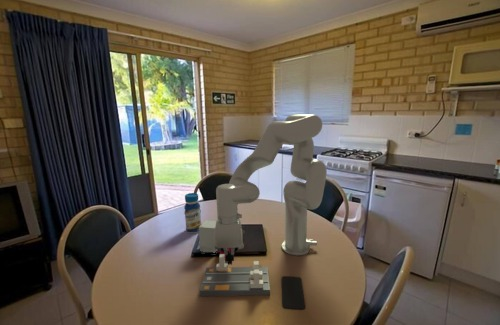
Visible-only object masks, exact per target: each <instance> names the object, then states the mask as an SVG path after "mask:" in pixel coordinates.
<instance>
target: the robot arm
mask: <svg viewBox="0 0 500 325" xmlns="http://www.w3.org/2000/svg"><path fill="white" fill-rule="evenodd" d="M322 129H323V121H322V119H321V117H320V116H318V115H316V114H308V113H307V114H291V115H288V116H287V117H286V118H285V119H284V120H275V121H272V122H270V123H269V124H268V125H267V127H266V128H265V130H264V132H263V134H262V136H261V137H260V140H259V141H258V143H257V144H256V146H255V149H254V150H253V152H252V153H251V154H249V156H247V157H246V158H245V159H244V160H243V161H242V162H241V163H240V164H239V165H237V167H236V169H234V170H235V171H234V172H233V174H232V176H231V177H230V180H229V181H228V183H223V184H219V185H218V186H217V187H216V189H215V194H216V195H215V196H216V214H217V219H216V220H215V221H216V226H215V245H216V246H215V249H216V250H217V251H220V250H221V251H222V252H223V253H224V254H225V255H226V258H225V262H227V263H228V266H229V265H231V266H232V265H233V262H234V261H235V258H234V257H235V253H236V252H237V251H238V250H242V249H244V243H243V241H244V240H243V239H244V237H243V226H242V221H241V219H242V218H243V214H240V213H239V208H238V207H239V206H238V205H241V204H243V205H244V204H251V203H254V202H256V201H257V200H258V198H259V197H260V189H259V187H258V186H257V185H256V184H255V183H253V182H251V181H249V180H250V178H251V176H252V175H253V174H254V173H255V172H257V171H258V170H259V169H263V168H265V167H269V166H270V165H272V164H273V163H274V161H275V159H276V157H277V155H278V153H279V151H280V150H281V148H282V146H283V145H289V146H291V145H293V150H292V156H291V163H290V174H291V176H292V177H294V178H296V179H299V180H294V179H293V180H290V181H288V182H286V184H284V187H283V192H282V193H283V199H284V206H285V207H284V208H285V210H284V211H285V215H284V216H285V217H284V218H285V219H284V221H285V222H284V224H285V225H284V226H285V228H284V229H285V230H284V232H285V234H284V236H285V237H284V241H283V242H282V243H281V250H282V251H283V252H285V253H286V254H288V255H292V256H304V255H306V254H308V253H309V252H310V249H311V248H310V247H311V246H315V247H316V246H318V242H317V240H314V239H313V238H309V239H308V238H307V233H308V228H307V227H308V210H316V209H317V208H319V207H320V205H321V203H322V201H323V196H324V190H325V186H326V180H327V167H326V165H325V163H324V162H323V161H322V160H320V159H316V158H314V149H315V145H314V140H313V138H315V137H317V136H318V135H319V134H320V133H321V131H322ZM300 180H301V181H300ZM302 180H303V181H305V182H302ZM228 248H231V250H230V251H229V250H228Z"/></svg>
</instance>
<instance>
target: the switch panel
mask: <svg viewBox="0 0 500 325" xmlns="http://www.w3.org/2000/svg"><path fill="white" fill-rule="evenodd" d="M268 269H269V268H268V266H259V271H262V274H263V279H259V280H263V288H250V280H254V279H250V271H254V266H235V267H234V266H233V267H232V266H231V267H229V266H228V271H216V267H206V268H205V271H204V274H203V278H202V282H201V286H200V289H199V296H200V297H214V296H215V297H221V296H222V297H225V296H226V297H228V296H230V297H231V296H233V297H234V296H270V295H271V287H270V286H271V285H270V276H269V270H268Z"/></svg>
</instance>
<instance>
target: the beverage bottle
mask: <svg viewBox="0 0 500 325" xmlns="http://www.w3.org/2000/svg"><path fill="white" fill-rule="evenodd" d="M184 201H185V205H184V207H183V209H184V211H183V212H184V213H183V214H184V215H185V216H184V219H185V232H186V233H188V234H199V227H200V226H201V224H202V218H201V214H202V210H201V204H200V202H199V194H198V193H196V192H189V193H187V194H185V195H184Z"/></svg>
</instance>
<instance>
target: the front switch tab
mask: <svg viewBox="0 0 500 325" xmlns="http://www.w3.org/2000/svg"><path fill="white" fill-rule="evenodd" d="M250 288H263V280H259V270H254V280H250Z"/></svg>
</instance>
